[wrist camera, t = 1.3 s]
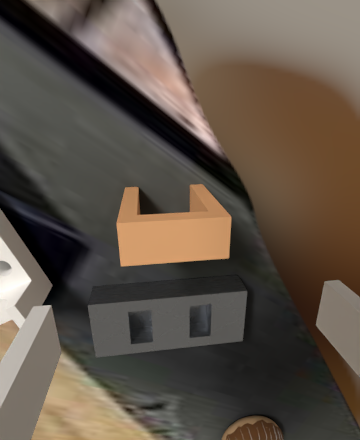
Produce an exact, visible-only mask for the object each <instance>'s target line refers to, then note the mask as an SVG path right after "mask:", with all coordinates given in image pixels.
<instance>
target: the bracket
mask: <svg viewBox="0 0 360 440" xmlns="http://www.w3.org/2000/svg"><path fill="white" fill-rule="evenodd" d="M52 286H53V285H52V284H51V282H50V281H49V279H48V278H47V276H46V275H45V273H44V272H43V270H42V269H41V267H40V266H39V265H38V263H37V262H36V260H35V259H34V257H33V256H32V254H31V253H30V251H29V250H28V248H27V247H26V245H25V244H24V243H23V241H22V240H21V238H20V237H19V235H18V234H17V232H16V231H15V229H14V228H13V226H12V225H11V223H10V222H9V221H8V219H7V218H6V216H5V215H4V213H3V212H2V210H1V209H0V325H1V324H3V323H5V322H7V321H10V320H13V321H14V322H15V323H16V324H17V326H18V327H19V328H21V327H22V325H23V323H24V321H25V320H26V318H27V316H28V315H29V313H30V311H31V309H32V308H33V307H34V306H42V304H43V303H44V301H45V299H46V297H47V295H48V293H49V291H50V289H51V288H52Z"/></svg>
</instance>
